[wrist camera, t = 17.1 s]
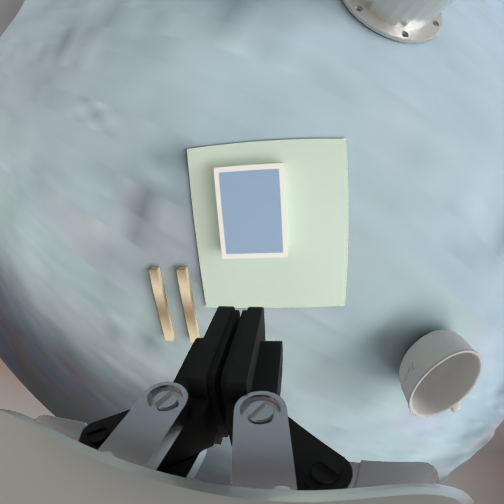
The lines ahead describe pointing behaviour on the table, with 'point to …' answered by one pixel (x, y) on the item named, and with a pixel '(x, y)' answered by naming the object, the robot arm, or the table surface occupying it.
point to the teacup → (438, 373)
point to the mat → (298, 226)
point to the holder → (186, 300)
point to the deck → (252, 211)
